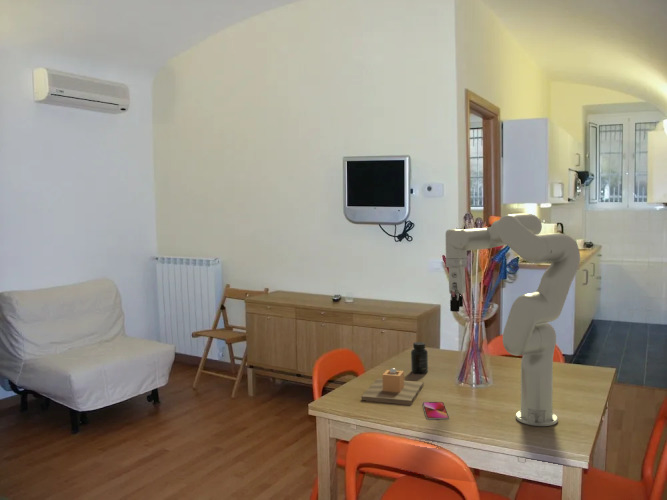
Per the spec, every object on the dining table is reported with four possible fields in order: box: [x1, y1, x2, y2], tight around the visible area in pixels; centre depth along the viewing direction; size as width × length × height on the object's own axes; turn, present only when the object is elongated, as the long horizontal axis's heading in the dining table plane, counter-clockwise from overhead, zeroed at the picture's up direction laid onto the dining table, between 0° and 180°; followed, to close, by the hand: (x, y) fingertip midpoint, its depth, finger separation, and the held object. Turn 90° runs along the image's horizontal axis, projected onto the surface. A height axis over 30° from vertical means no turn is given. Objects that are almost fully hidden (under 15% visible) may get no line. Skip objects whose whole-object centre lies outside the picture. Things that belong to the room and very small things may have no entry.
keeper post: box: [389, 367, 398, 375], centre depth 218 cm, size 3×3×8 cm
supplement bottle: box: [410, 341, 429, 375], centre depth 243 cm, size 7×7×12 cm
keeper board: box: [360, 378, 424, 406], centre depth 218 cm, size 22×18×2 cm
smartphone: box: [422, 401, 450, 421], centre depth 198 cm, size 7×1×15 cm
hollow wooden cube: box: [382, 369, 405, 392], centre depth 218 cm, size 6×6×6 cm
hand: (456, 308), depth 218 cm, fingers open, 9 cm apart
